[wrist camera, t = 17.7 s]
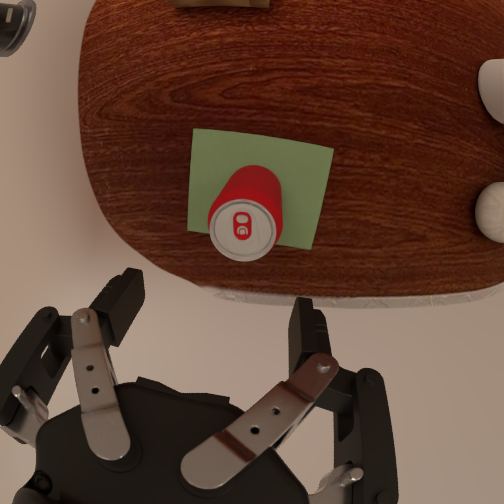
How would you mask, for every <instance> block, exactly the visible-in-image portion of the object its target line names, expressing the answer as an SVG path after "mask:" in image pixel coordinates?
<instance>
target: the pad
mask: <svg viewBox="0 0 504 504" xmlns="http://www.w3.org/2000/svg"><path fill="white" fill-rule="evenodd" d="M333 151H334V149H333V148H328V147H324V146H319V145H314V144H309V143H304V142H299V141H293V140H287V139H281V138H275V137H269V136H262V135H255V134H247V133H239V132H230V131H220V130H208V129H193V140H192V152H191V166H190V181H189V200H188V226H187V230H188V231H195V232H201V233H208V234H210V233H209V229H208V213H209V210H210V207H211V205H212V204H213V202H214V201H215V199H216V198H217V196H218V195H219V193H220V192H221V190H222V189H223V188H224V186H225V185H226V183H227V182H228V180H229V179H230V177H231V176H232V175H233V174H234V172H236V171H237V170H238V169H240V168H242V167H244V166H248V165H259V166H263V167H265V168H267V169H269V170H271V171H272V172H273V173H274V174H275V175H276V177H277V178H278V180H279V182H280V185H281V192H282V214H283V229H282V233H281V236H280V238H279V240H278V241H277V243H276V244H278V245H284V246H290V247H296V248H303V249H309V250H311V247H312V243H313V240H314V236H315V232H316V228H317V223H318V219H319V215H320V211H321V207H322V202H323V198H324V194H325V189H326V185H327V180H328V175H329V171H330V166H331V161H332V156H333Z"/></svg>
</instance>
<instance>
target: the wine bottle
mask: <svg viewBox="0 0 504 504" xmlns="http://www.w3.org/2000/svg"><path fill="white" fill-rule="evenodd" d="M478 87H479V92H480V96H481V99H482V101H483V103H484V106H485V107H486V109H487V111H488V112H489V113H490V115H491V116H492V117H493V118H494V119H496V120H497V121H499V122H500V123H503V124H504V59H494V60H488V61H486V62H485V63H483V65H482V66H481V68H480V70H479V74H478Z"/></svg>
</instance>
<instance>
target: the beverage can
mask: <svg viewBox="0 0 504 504" xmlns="http://www.w3.org/2000/svg"><path fill="white" fill-rule="evenodd" d="M208 229H209V233H210V237H211V240H212V242H213V244H214V246H215V247H216V248H217V250H218V251H220V252H221V253H222V254H223V255H225V256H226V257H228V258H230V259H233V260H236V261H252V260H256V259H258V258H260V257H262V256H264V255H265V254H266V253H267V252H268V251H269V250H270V249H272V248H273V247H274V246H275V244H276V243H277V241H278V240H279V238H280V236H281V233H282V229H283V214H282V192H281V185H280V182H279V180H278V178H277V177H276V175H275V174H274V173H273V172H272V171H271V170H269V169H267V168H265V167H263V166H259V165H248V166H244V167H242V168H240V169H238V170H237V171H236V172H234V174H233V175H232V176H231V177H230V179H229V180H228V182H227V183H226V185H225V186H224V188H223V189H222V190H221V192H220V193H219V195H218V196H217V198H216V199H215V201H214V202H213V204H212V205H211V207H210V210H209V213H208Z"/></svg>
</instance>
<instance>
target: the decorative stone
mask: <svg viewBox="0 0 504 504" xmlns="http://www.w3.org/2000/svg"><path fill="white" fill-rule="evenodd" d="M475 218H476V223H477V225H478V227H479V229H480V231H481V232H482V233H483V234H484V235H485V236H486V237H488V238H490V239H491V240H494V241H496V242H500V243H504V182H496V183H492V184H490V185H488V186H487V187H486V188H485V189H484V190H483V191H482V192H481V194H480V195H479V197H478V199H477V202H476V207H475Z"/></svg>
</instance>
